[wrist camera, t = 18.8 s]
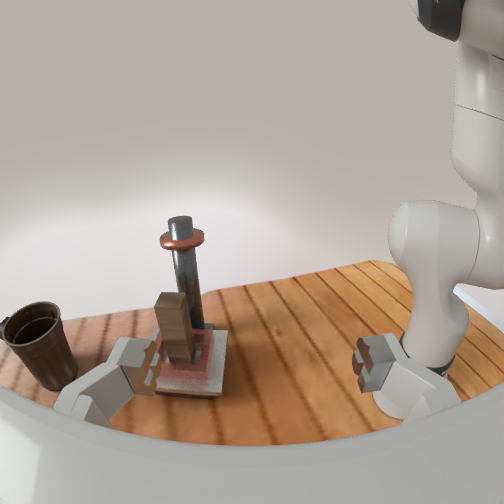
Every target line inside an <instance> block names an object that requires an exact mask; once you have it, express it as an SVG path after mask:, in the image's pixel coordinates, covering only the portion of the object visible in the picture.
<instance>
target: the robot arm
mask: <svg viewBox="0 0 504 504" xmlns="http://www.w3.org/2000/svg"><path fill="white" fill-rule="evenodd" d="M408 2H409V4H410V6H411V8H412V9H413V10H414V12H415V14H416V15H417V18H418V21H419V22H420V23H421V24H422V25H423V26H424V27H425V28H426V30H428V31H430V32H432V33H434V34H436V35H439V36H441V37H443V38H446V39H449V40H451V41H454V42H455V41H457V40H459V41H460V42H459V45H458V52H457V60H456V71H455V86H454V87H455V88H454V103H456V104H459V105H462V106H466V107H469V108H472V109H469V108H465V107H462V106H458V105H454V114H453V130H452V142H451V151H450V152H451V159H452V163H453V165H454V168H455V170H456V171H457V173H458V174H459V175H460V176H461V178H462V179H463V180H464V181H465V182H466V183H467V184H468V185H469V186H470V187H471V188H472V189H473V190H474V191H476V192H477V194H478V198H477V204H476V207H475V209H469V208H464V207H461V206H456V205H452V204H448V203H444V202H439V201H434V200H416V201H406V202H404V203H403V204H402V205H401V206H400V207H399V208H398V209H397V210H396V212H395V213H394V215H393V216H392V219H391V221H390V224H389V228H388V245H389V249H390V253H391V255H392V257H393V259H394V261H395V262H396V264H397V265H398V266H399V267H400V268H401V269H402V271H403V272H404V273H405V275H406V276H407V278H408V280H409V282H410V284H411V287H412V292H413V308H412V312H411V316H410V319H409V323H408V326H407V328H406V331H405V332H404V333H403V334H402V336H401V338H400V339H399V341H398V340H397V338H396V337H395V335H394V334H393V333H386V334H381V335H373V336H365V337H359V339H358V341H357V344H356V345H357V347H358V349H357V350H355V351H354V353H353V357H352V366H353V370H354V373H355V374H356V375H358V376H359V378H358V381H357V382H358V385H359V388H360V391H361V393H366V392H372V393H373V397H374V400H375V402H376V404H377V405H378V407H379V408H380V409H381V410H382V411H383V412H385V413H386V414H388V415H389V416H391V417H394V418H397V419H404V420H403V422H402V423H401V424H400V425H398V426H395V427H391V428H387V429H384V430H380V431H375V432H371V433H367V434H362V435H357V436H352V437H346V438H341V439H334V440H328V441H320V442H312V443H302V444H290V445H273V446H225V445H207V444H196V443H186V442H178V441H171V440H164V439H158V438H152V437H146V436H141V435H136V434H132V433H127V432H123V431H119V430H115V428H114V427H113V426H112V425H111V423H110V422H109V421H108V420H109V419H110V418H111V417H112V416H113V415H114V414H115V413H116V412H117V411H119V410H120V409H121V408H122V407H123V406H124V405H125V404H126V403H127V402H128V401H129V400H130V399H131V398H132V397H133V396H135V394H138V395H145V396H154V393H155V390H156V386H157V383H156V380H155V379H157V378H158V377H159V376H160V373H161V367H162V362H161V357H160V355H159V354H158V353H157V352H156V349H157V345H156V342H155V341H153V340H146V339H138V338H128V337H120V338H119V339H118V341H117V342H116V344H115V346H114V348H113V350H112V352H111V354H110V356H109V358H108V360H107V362H106V363H102V364H100V365H98V366H97V367H95V368H94V369H92V370H91V371H89V372H87V373H86V374H84V375H83V376H81V377H80V378H78V379H76V380H75V381H73V382H72V383H70V384H69V385H67V386H65V387H64V388H63V389H62V391H61V393H60V395H59V397H58V399H57V401H56V403H55V405H54V406H53V408H52V409H51V408H48V407H46V406H43V405H41V404H39V403H36V402H34V401H32V400H30V399H28V398H26V397H24V396H21V395H19V394H17V393H15V392H14V391H12V390H10V389H8V388H6V387H4V386H2V385H0V504H504V382H502V383H500V384H499V385H497V386H495V387H493V388H491V389H489V390H487V391H485V392H483V393H481V394H479V395H477V396H475V397H473V398H471V399H469V400H467V401H465V402H461V400H460V398H459V396H458V394H457V392H456V391H455V389H454V387H453V385H452V383H451V382H450V381H448V379H447V371H448V370H449V369H450V367H451V365H452V362H453V360H454V358H455V353H456V351H457V349H458V347H459V346H460V344H461V342H462V340H463V338H464V336H465V334H466V332H467V330H468V326H469V314H468V310H467V308H466V306H465V305H464V303H463V302H462V301H461V299H460V298H459V297H458V296H457V295H455V294H454V293H453V289H454V287H455V285H456V284H457V283H463V284H468V285H473V286H478V287H483V288H488V289H493V290H496V289H504V120H502V119H504V0H408ZM473 109H475V110H473ZM476 110H479V111H482V112H485V113H488V114H490V115H488V114H485V113H482V112H479V111H476ZM491 115H493V116H491ZM494 116H496V117H494ZM497 117H499V118H502V119H499V118H497Z"/></svg>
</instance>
